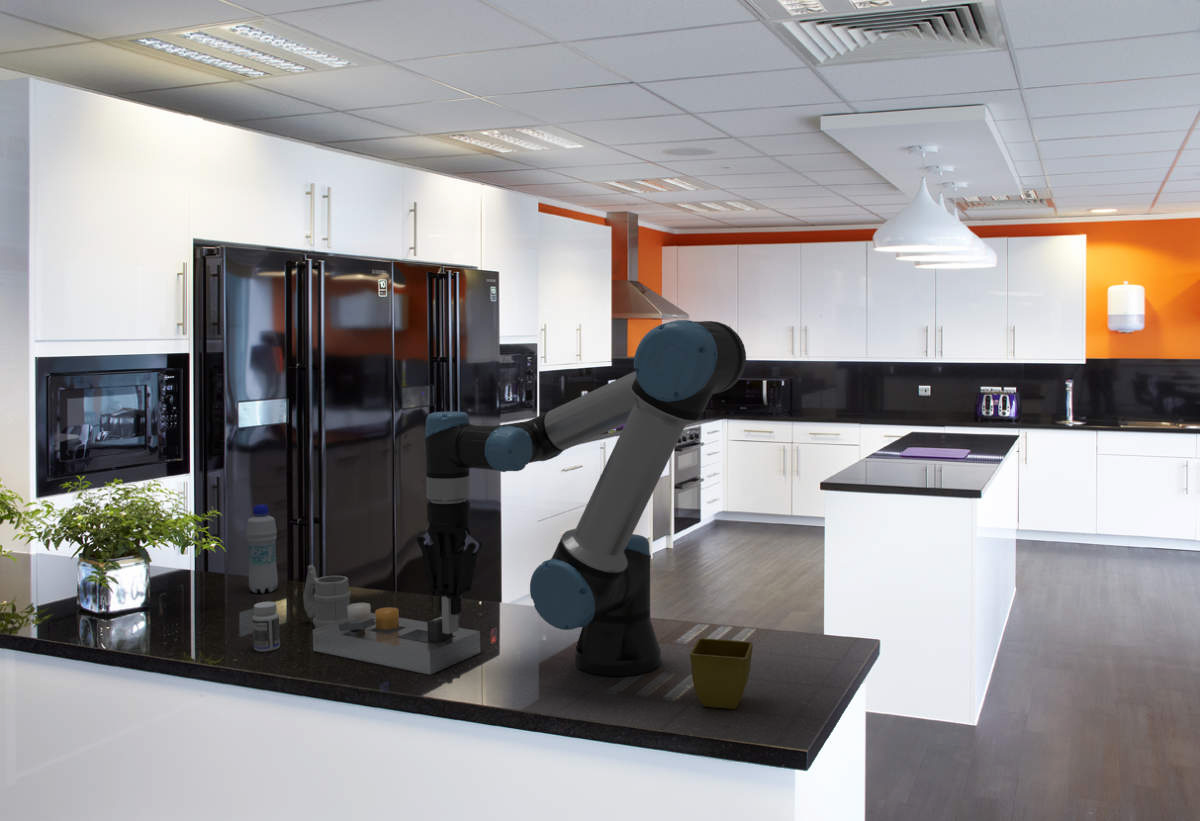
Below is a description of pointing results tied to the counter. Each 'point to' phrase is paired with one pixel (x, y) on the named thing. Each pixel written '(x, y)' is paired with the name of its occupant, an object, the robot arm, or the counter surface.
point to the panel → (397, 645)
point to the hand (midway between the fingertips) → (450, 631)
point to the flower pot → (720, 671)
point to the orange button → (387, 618)
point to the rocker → (356, 624)
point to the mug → (326, 598)
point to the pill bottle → (266, 627)
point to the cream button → (359, 611)
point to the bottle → (262, 550)
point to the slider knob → (436, 631)
